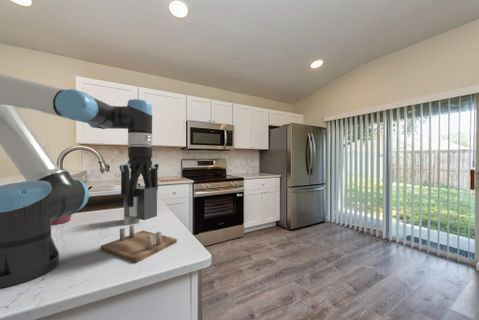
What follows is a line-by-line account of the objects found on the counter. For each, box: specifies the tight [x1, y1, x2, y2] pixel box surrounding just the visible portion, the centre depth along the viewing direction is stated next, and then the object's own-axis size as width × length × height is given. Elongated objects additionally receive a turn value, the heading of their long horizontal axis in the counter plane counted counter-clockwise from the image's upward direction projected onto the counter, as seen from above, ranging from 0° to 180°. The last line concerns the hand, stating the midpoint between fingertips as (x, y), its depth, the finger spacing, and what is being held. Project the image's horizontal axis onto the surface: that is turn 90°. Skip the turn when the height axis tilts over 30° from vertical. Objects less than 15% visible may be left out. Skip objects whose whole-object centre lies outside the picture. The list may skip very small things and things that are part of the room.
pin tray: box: [99, 224, 178, 264], centre depth 70 cm, size 16×18×5 cm
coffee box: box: [123, 196, 140, 226], centre depth 96 cm, size 9×6×16 cm
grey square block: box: [125, 184, 158, 221], centre depth 70 cm, size 5×10×10 cm, turn 63°
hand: (140, 213), depth 70 cm, fingers closed on grey square block, 5 cm apart
